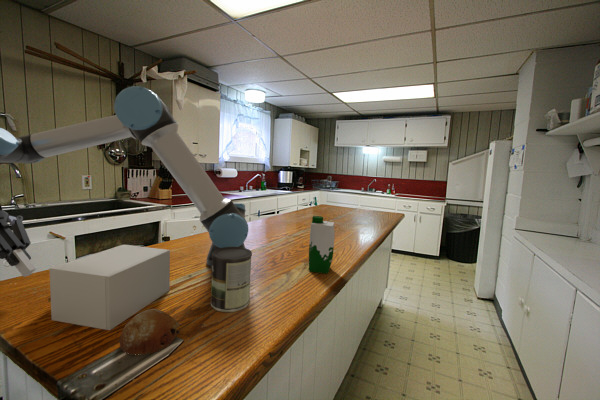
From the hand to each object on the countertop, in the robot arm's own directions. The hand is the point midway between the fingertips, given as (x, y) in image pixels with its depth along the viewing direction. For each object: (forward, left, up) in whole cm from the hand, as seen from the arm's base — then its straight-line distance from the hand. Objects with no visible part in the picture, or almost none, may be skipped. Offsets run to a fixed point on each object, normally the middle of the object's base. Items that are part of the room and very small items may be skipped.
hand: (30, 272), depth 67 cm
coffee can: (-49, 0, -7) cm, 50 cm away
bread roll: (-36, +16, -7) cm, 40 cm away
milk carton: (-78, -26, -7) cm, 83 cm away
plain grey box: (-21, +1, -7) cm, 22 cm away
